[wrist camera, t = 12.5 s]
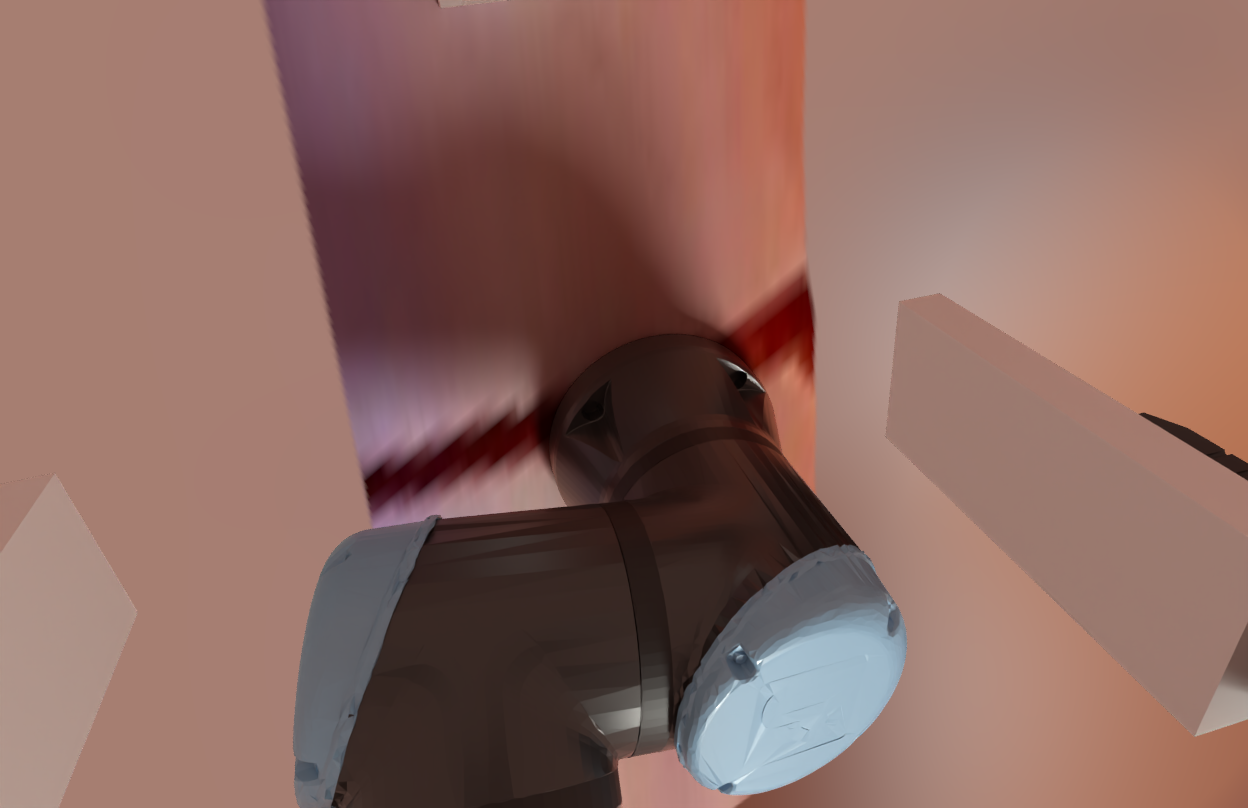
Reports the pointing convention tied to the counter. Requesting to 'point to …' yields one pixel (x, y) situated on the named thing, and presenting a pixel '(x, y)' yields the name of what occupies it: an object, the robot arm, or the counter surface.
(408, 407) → the counter surface
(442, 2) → the holder
